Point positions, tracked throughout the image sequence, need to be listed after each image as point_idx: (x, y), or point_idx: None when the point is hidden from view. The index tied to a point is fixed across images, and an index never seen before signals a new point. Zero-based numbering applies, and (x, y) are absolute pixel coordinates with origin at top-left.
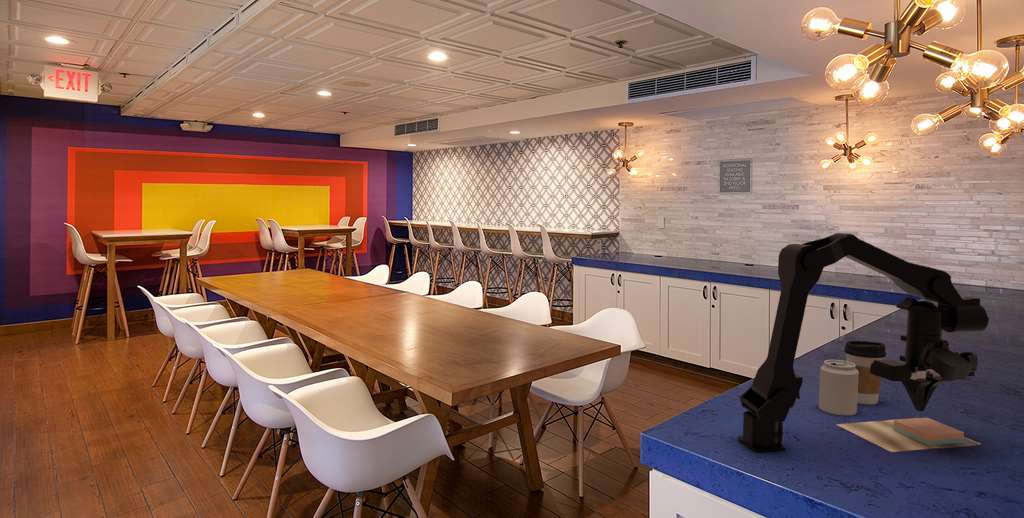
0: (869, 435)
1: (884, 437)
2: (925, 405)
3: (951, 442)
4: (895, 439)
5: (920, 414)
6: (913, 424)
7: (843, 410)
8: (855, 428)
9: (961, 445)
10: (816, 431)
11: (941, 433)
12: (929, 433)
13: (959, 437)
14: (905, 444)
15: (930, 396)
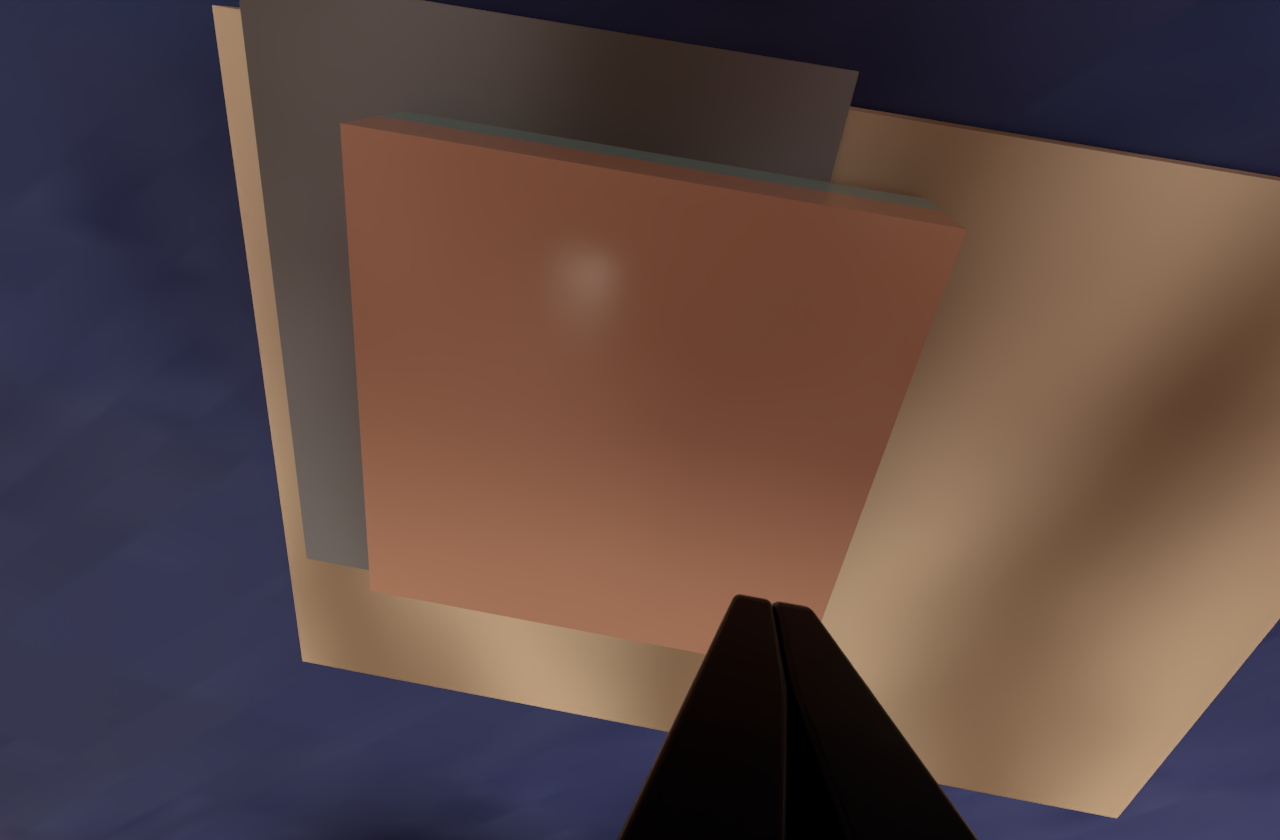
0: (1163, 601)
1: (1087, 523)
2: (728, 662)
3: (577, 140)
4: (1046, 452)
5: (159, 700)
6: (726, 533)
7: None
8: (1071, 725)
9: (518, 43)
10: (1268, 807)
11: (705, 211)
12: (871, 273)
13: (438, 128)
14: (1119, 326)
15: (642, 836)
